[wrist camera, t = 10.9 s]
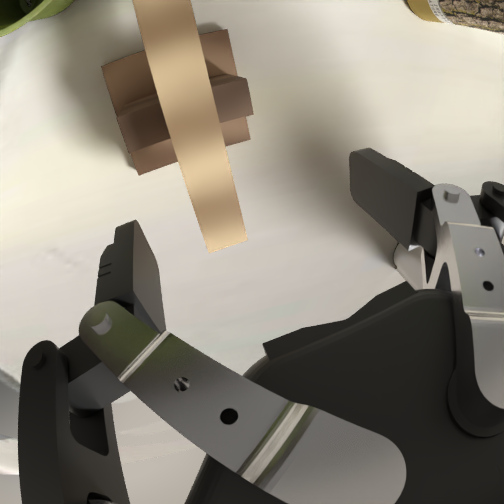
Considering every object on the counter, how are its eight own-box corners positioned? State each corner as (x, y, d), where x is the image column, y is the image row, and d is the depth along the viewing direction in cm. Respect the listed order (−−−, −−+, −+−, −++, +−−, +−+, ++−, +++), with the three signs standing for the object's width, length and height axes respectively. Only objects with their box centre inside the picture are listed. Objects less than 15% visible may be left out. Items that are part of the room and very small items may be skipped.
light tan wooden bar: (133, -1, 14) (129, -12, 11) (178, -13, 15) (184, -27, 12) (200, 226, 27) (209, 253, 24) (234, 215, 27) (247, 239, 24)
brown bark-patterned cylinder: (429, 29, 28) (597, 82, 9) (397, 2, 25) (587, 39, 6) (440, -4, 24) (600, 34, 5) (409, -32, 21) (586, -11, 2)
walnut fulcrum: (247, 136, 31) (274, 161, 25) (138, 171, 30) (137, 206, 24) (224, 30, 24) (248, 22, 18) (103, 66, 22) (86, 69, 16)
